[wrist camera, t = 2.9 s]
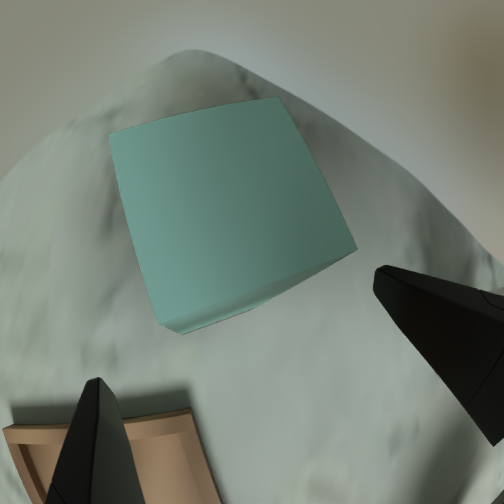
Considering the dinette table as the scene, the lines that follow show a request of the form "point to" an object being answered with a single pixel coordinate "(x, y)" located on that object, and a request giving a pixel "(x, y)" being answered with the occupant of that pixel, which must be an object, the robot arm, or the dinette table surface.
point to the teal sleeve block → (224, 210)
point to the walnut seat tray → (144, 453)
